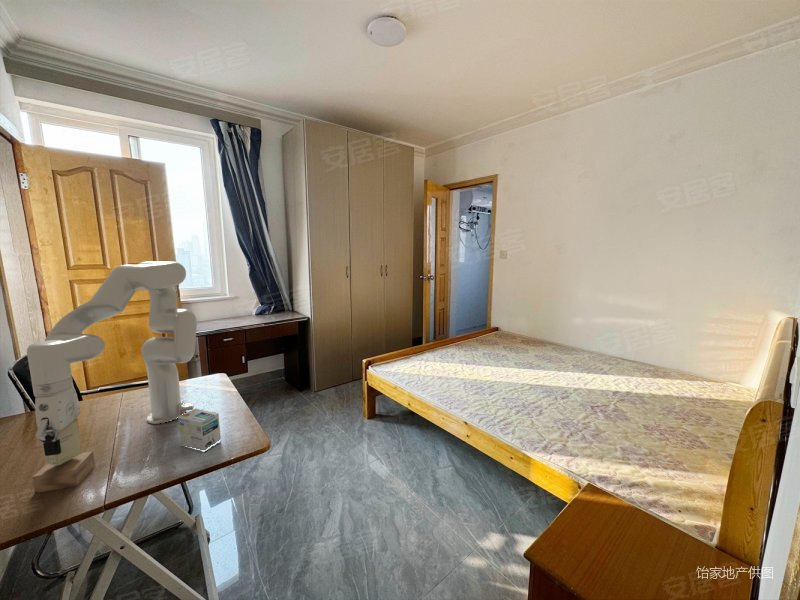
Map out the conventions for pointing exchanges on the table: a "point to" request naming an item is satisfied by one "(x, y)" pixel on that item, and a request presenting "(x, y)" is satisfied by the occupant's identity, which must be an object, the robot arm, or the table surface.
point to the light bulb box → (199, 429)
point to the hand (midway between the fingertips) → (62, 445)
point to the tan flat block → (64, 473)
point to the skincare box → (66, 443)
